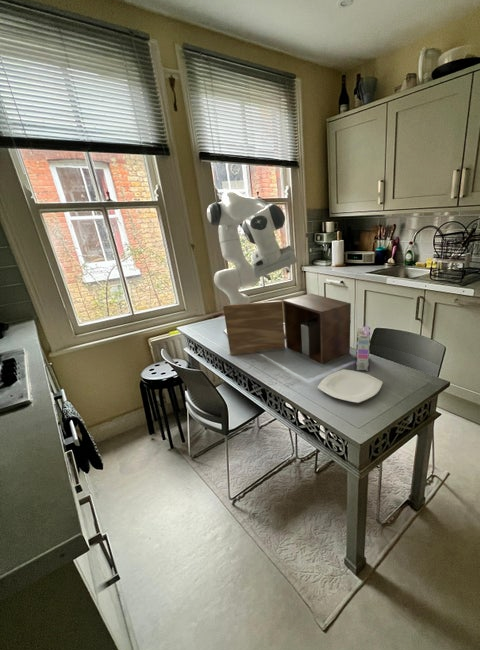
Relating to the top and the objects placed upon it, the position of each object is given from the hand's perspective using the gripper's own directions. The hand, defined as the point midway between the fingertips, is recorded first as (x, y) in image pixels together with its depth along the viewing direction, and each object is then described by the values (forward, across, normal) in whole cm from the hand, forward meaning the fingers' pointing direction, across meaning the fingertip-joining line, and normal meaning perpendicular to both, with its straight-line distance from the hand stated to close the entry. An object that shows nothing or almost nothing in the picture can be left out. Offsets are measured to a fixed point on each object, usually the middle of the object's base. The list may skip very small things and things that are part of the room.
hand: (278, 275), depth 147 cm
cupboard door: (+31, +24, +13) cm, 42 cm away
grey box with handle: (+31, -2, +26) cm, 41 cm away
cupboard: (+34, -4, +26) cm, 43 cm away
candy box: (+28, -21, +44) cm, 57 cm away
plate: (+15, -10, +59) cm, 62 cm away
